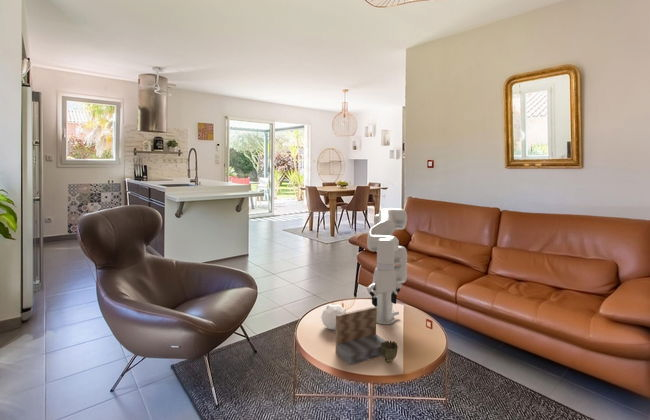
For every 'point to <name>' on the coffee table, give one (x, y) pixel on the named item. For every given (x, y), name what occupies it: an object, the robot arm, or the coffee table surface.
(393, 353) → the cup
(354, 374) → the coffee table surface
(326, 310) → the geodesic sphere
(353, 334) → the board
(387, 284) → the robot arm
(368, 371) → the coffee table surface
